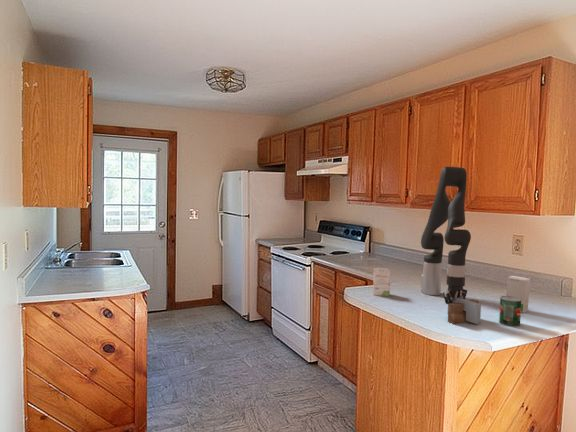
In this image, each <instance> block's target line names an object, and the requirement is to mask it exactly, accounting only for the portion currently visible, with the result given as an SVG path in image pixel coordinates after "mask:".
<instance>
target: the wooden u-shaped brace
mask: <svg viewBox="0 0 576 432" xmlns="http://www.w3.org/2000/svg"><path fill="white" fill-rule="evenodd" d="M468 300H469V301H472V302H476V303H479V304H480V301H479V300H477V299H474V298H472V299H471V298H470V299H468ZM448 322H449V323H448ZM466 322H467V321H466V311H464V310H463V304H462V303H459V302H456V303H451V304H447V323H448V324H451V323H452V324H451V325H457V324H460V323H466Z"/></svg>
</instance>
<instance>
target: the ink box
mask: <svg viewBox="0 0 576 432" xmlns="http://www.w3.org/2000/svg"><path fill="white" fill-rule="evenodd" d="M372 283H373V284H372V285H373V286H372V287H373V288H372V294H373V296H381V297H382V296H383V297H390V293H391V272H390V268H385V267H374V268H373V280H372Z"/></svg>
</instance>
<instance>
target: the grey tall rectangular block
mask: <svg viewBox="0 0 576 432" xmlns="http://www.w3.org/2000/svg"><path fill="white" fill-rule="evenodd" d="M451 298H452V297H451ZM462 298H463V297H462ZM462 298H458V297H457V299H456V301H455V303H456V302H459V303H462V304H463V310H464V311H466V322H468V323H469V322H470V323H472V324H477V325H478V324H480V323H481V317H482V315H481V314H482V313H481V312H482V304H481V303H480V302H479V303H476V302H472V301H469V300H470V299H466V298H465V299H462ZM453 299H454V298H453ZM448 302H449V301H448ZM451 302H452V300H451Z"/></svg>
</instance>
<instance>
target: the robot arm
mask: <svg viewBox="0 0 576 432" xmlns="http://www.w3.org/2000/svg"><path fill="white" fill-rule="evenodd" d="M467 175H468V173H467V170H466V168H464V167H461V166H460V167H459V166H444V167H443V168H442V169H441V172H440V175H439V179H438V183H437V184H438V185H437V188H436V194H435V197H434V200H433V202H432V205H431V209H430V212H429V216H428V219H427V223H426V225H425V228H424V231H423V232H422V235H421V237H420V238H421V239H420V245H421V247H422V249H424V250H433V252H431V253H430V254H426V255H424V256H423V269H422V270H423V272H422V274H421V285H420V292H421V293H423V294H424V295H428V296H439V295H441V293H442V294H443V295H442V296H443V299H444V303H445V305H448V304H451V303H455V301H456V299H457V297H458V298H462V299H465V300H466V297H467V293H468V290H467V289H465V288H464V287H465V286H466V255H467V253H468V252H467V251H468V249H469V245H470V242H471V239H472V235H471V232H470V231H469V230H468V229H461V228H460V227H463V226H464V225H465V224H466V214H465V213H466V212H465V211H466V210H465V203H466V202H465V200H466V193H467V192H466V191H467V180H468V179H467V177H468V176H467ZM447 187H454V188H457V191H456V195H455V196H454V197H453V198H452V200H451V201H450V199H449V197H448V194H447V192H446V188H447ZM446 222H447V227H446V230H445V233H444V235H443V233H442V232H436V231H437V230H438V229H439V228H440V227H441V226H443V225H444V224H445V223H446ZM457 228H458V229H457ZM459 228H460V229H459ZM444 242H445V243H444ZM445 244H446V245H448V246H458V247H459V246H460V247H459V248H458V249H453V250H449V252H448V254H447V266H446V268H447V269H446V285H447V286H448V287H447V289H446V290H447V291H446V292H445V291H443V292H441V291H442V268H443V267H442V266H443V263H442V262H443V253H444V252H443V251H444V245H445ZM451 297H452V298H451ZM453 298H454V299H453ZM451 300H452V302H451ZM448 301H449V302H448Z"/></svg>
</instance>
